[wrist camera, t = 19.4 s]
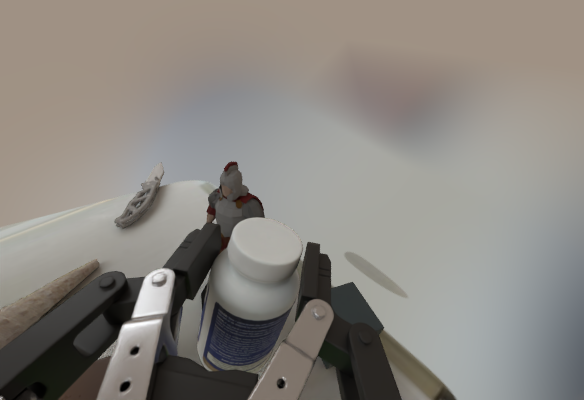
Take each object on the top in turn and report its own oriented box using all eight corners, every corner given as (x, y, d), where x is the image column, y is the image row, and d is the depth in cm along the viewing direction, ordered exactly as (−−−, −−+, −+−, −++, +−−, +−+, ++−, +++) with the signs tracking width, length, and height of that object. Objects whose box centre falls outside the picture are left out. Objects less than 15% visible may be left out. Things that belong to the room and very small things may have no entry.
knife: (154, 166, 43) (171, 165, 43) (116, 231, 29) (142, 228, 29) (151, 158, 42) (169, 158, 42) (110, 221, 28) (138, 219, 28)
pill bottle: (284, 355, 17) (334, 258, 13) (214, 404, 13) (251, 292, 9) (249, 298, 20) (279, 206, 16) (185, 326, 17) (202, 215, 12)
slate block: (326, 369, 19) (337, 347, 17) (303, 318, 22) (310, 294, 20) (369, 349, 21) (384, 327, 19) (342, 305, 24) (352, 281, 22)
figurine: (184, 307, 22) (150, 164, 13) (232, 256, 28) (228, 134, 19) (243, 342, 20) (246, 202, 12) (281, 280, 26) (302, 156, 17)
